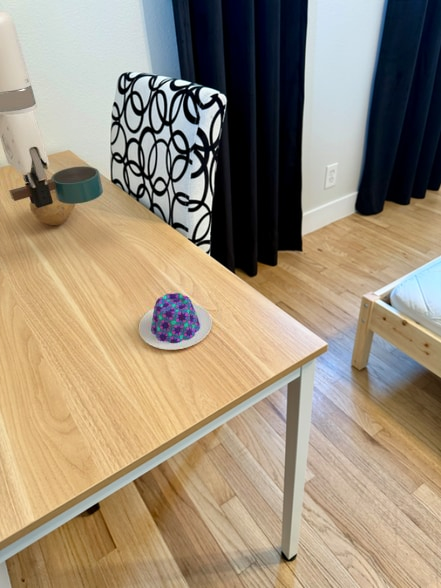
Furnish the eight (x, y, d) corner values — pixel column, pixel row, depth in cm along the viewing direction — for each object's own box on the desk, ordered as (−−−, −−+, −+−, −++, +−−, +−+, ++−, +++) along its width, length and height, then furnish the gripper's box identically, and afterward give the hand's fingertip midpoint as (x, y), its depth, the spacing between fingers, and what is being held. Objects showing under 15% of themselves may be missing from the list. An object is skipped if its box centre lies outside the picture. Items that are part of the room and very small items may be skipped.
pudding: (226, 333, 69) (225, 307, 66) (160, 364, 64) (155, 338, 61) (188, 296, 77) (186, 272, 74) (127, 321, 72) (122, 297, 69)
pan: (91, 181, 91) (86, 162, 88) (110, 194, 85) (106, 174, 82) (10, 205, 82) (2, 184, 80) (26, 221, 77) (18, 199, 74)
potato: (30, 237, 97) (19, 204, 92) (41, 210, 108) (31, 180, 103) (74, 232, 98) (66, 200, 93) (80, 206, 109) (73, 176, 105)
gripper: (-26, 96, 74) (9, 196, 85) (1, 113, 64) (37, 224, 75) (18, 89, 77) (46, 186, 88) (50, 103, 67) (77, 211, 78)
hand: (42, 202), depth 82 cm, fingers closed on pan
